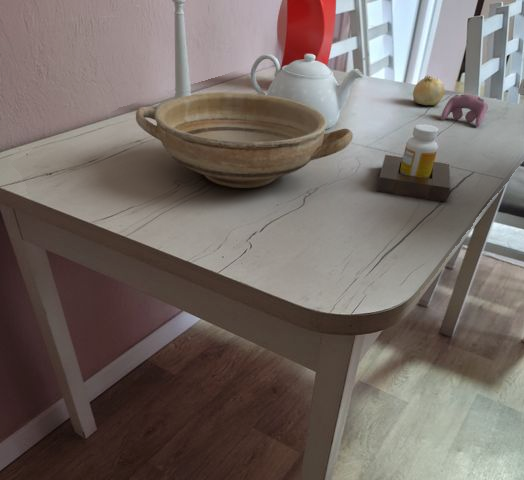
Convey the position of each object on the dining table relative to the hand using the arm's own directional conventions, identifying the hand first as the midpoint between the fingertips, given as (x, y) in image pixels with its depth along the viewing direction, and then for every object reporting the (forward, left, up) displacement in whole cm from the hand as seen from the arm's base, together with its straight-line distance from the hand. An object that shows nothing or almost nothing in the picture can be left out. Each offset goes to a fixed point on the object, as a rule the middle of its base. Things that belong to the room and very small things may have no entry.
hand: (523, 79), depth 72 cm
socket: (+12, -2, -19) cm, 22 cm away
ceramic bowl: (+42, +6, -19) cm, 46 cm away
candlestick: (+66, -25, -19) cm, 73 cm away
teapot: (+39, -30, -19) cm, 53 cm away
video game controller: (+2, -48, -19) cm, 52 cm away
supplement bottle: (+12, -2, -19) cm, 22 cm away
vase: (+45, -60, -19) cm, 77 cm away
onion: (+11, -60, -19) cm, 64 cm away
